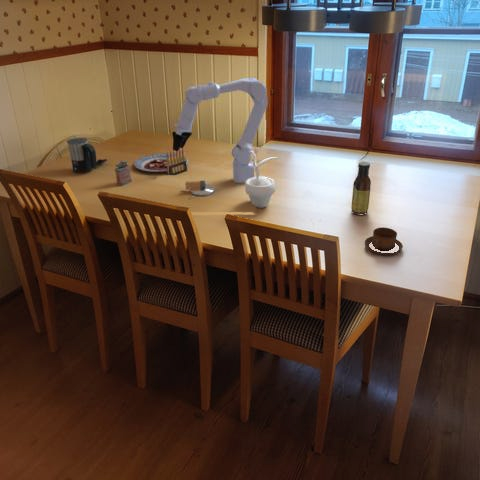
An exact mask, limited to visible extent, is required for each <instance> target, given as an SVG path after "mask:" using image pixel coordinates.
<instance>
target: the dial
mask: <svg viewBox="0 0 480 480" xmlns="http://www.w3.org/2000/svg"><path fill="white" fill-rule="evenodd" d="M184 183H185V191H188V190H190V194H192V196H193V195H194V196H195V197H207V196H212V195H213V194H214V193H215V192H216V190H215V189H216V188H215V186H213V185H211V184H206V180H199V181H198V180H196V181H195V180H194V181H192V180H191V181H190V180H189V181H185V182H184Z"/></svg>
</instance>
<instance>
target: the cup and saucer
mask: <svg viewBox="0 0 480 480" xmlns="http://www.w3.org/2000/svg"><path fill="white" fill-rule="evenodd" d="M372 233H373V234H372V236H369V237H367V238H366V239H365V240H364V246H365V248H367V249H368V250H369V251H370V252H371V253H375V254H377V255H383V256H392V255H395V254H398V253H399V252H401V251H402V250H403V248H404V247H403V244H402V242H401V241H400V240H398V239H397V236H398V232H397V231H396V230H394V229H392V228H388V227H377V228H375V229H373V232H372ZM371 242H372V244H373V246H374V247H375V249H378V250H380V251H389V250H391V249H393V248H394V247H395V243H396V244H397V245H398V246H399V250H398V251H397V252H394V253H381V252H377V251H374V250H372V249H371V248H370V247H369V244H370V243H371Z"/></svg>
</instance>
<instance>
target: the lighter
mask: <svg viewBox="0 0 480 480" xmlns="http://www.w3.org/2000/svg"><path fill="white" fill-rule="evenodd" d="M115 167H116V168H114V172H115V176H116V177H115V178H116V186H117V187H123V186H126V185H128V184H130V183H131V182H133V180H132V175H131V166H130V164H129V163H128V161H127V160H123V161H122V160H121V161H120V162H118V163H116V164H115Z"/></svg>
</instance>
